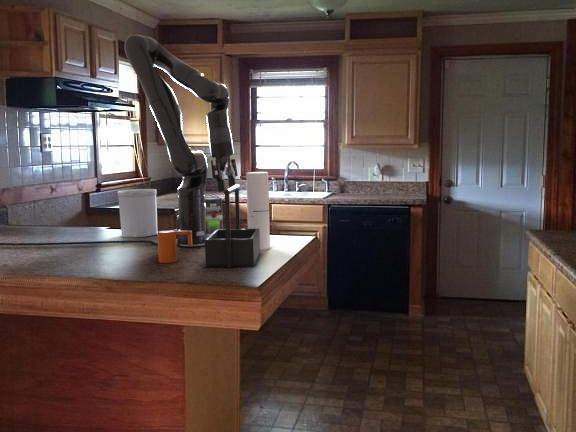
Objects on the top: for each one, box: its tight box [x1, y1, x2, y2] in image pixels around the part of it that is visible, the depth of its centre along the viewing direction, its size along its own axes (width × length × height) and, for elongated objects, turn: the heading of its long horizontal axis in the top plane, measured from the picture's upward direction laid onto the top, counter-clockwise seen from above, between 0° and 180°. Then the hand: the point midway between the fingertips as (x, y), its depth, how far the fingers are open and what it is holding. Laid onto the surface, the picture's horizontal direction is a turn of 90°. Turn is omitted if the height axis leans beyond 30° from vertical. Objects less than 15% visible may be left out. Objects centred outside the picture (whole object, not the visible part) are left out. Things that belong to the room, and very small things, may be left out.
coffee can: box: [205, 196, 224, 237], centre depth 246 cm, size 10×10×14 cm
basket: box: [204, 183, 261, 269], centre depth 189 cm, size 14×24×22 cm, turn 178°
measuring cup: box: [156, 229, 192, 264], centre depth 190 cm, size 10×5×9 cm, turn 88°
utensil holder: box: [116, 188, 158, 238], centre depth 249 cm, size 15×15×18 cm
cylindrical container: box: [245, 171, 271, 251], centre depth 210 cm, size 7×7×25 cm
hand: (227, 190), depth 212 cm, fingers open, 8 cm apart
